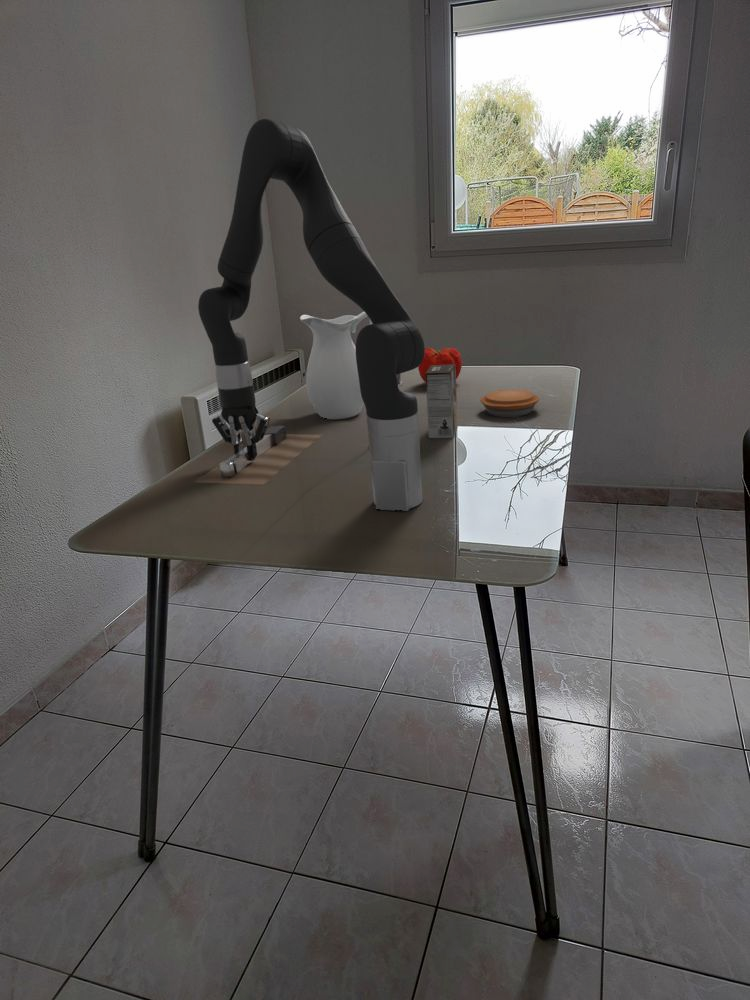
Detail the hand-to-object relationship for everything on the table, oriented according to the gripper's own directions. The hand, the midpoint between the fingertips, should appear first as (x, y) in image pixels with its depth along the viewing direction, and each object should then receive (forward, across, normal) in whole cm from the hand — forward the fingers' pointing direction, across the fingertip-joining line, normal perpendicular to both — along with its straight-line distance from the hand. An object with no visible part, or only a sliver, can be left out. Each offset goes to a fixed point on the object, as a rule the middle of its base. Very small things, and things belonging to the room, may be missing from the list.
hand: (247, 459), depth 150 cm
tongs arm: (+1, +1, +6) cm, 6 cm away
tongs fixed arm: (+1, 0, +4) cm, 4 cm away
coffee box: (+2, +39, +29) cm, 49 cm away
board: (+2, +2, +4) cm, 5 cm away
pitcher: (+2, +9, +47) cm, 48 cm away
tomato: (+2, +28, +81) cm, 86 cm away
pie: (+3, +53, +49) cm, 72 cm away
